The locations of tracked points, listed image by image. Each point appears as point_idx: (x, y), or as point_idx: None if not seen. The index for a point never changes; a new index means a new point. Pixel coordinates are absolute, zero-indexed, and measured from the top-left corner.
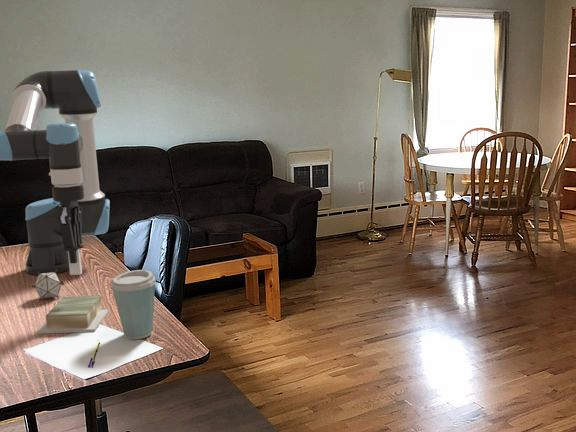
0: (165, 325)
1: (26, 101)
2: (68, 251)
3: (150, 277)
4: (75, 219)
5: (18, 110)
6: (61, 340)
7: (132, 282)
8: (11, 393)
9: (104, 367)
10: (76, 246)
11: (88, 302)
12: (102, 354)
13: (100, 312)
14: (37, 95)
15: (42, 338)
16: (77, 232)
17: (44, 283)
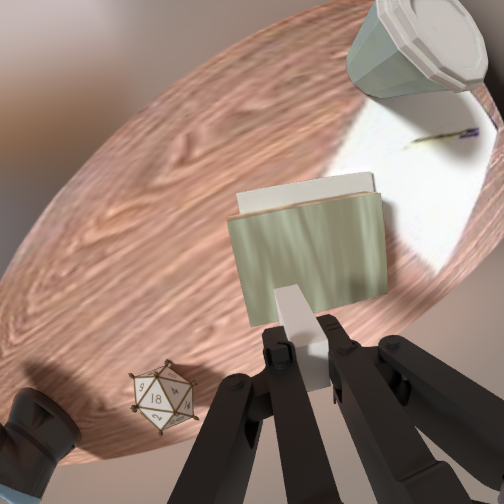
0: (313, 31)
1: None
2: (329, 380)
3: None
4: (462, 496)
5: None
6: (410, 225)
7: (474, 28)
8: None
9: (475, 111)
10: (352, 355)
11: (294, 230)
12: (449, 123)
13: (262, 205)
14: None
15: (400, 269)
16: (318, 434)
17: (184, 404)
